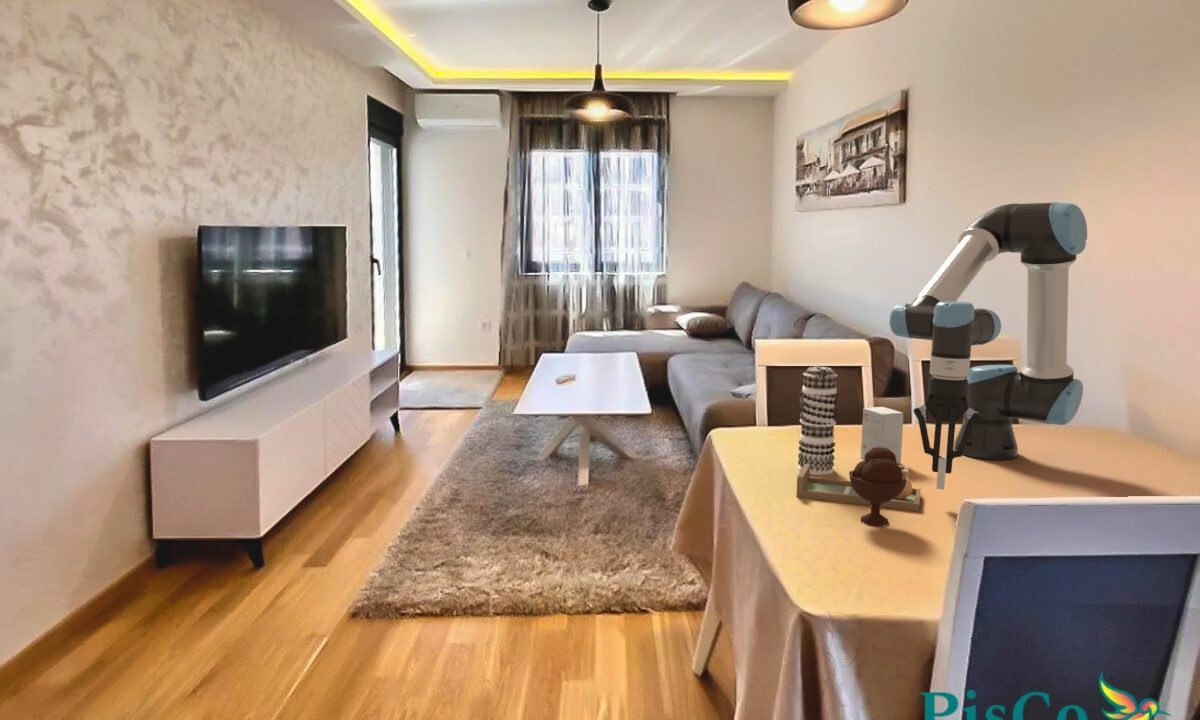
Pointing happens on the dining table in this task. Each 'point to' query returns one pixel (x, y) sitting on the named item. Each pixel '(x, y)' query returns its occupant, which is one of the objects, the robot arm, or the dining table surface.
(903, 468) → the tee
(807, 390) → the decorative candle
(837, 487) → the tray
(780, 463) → the dining table surface
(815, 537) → the dining table surface
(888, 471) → the ice cream bowl
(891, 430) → the small box
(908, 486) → the ball
